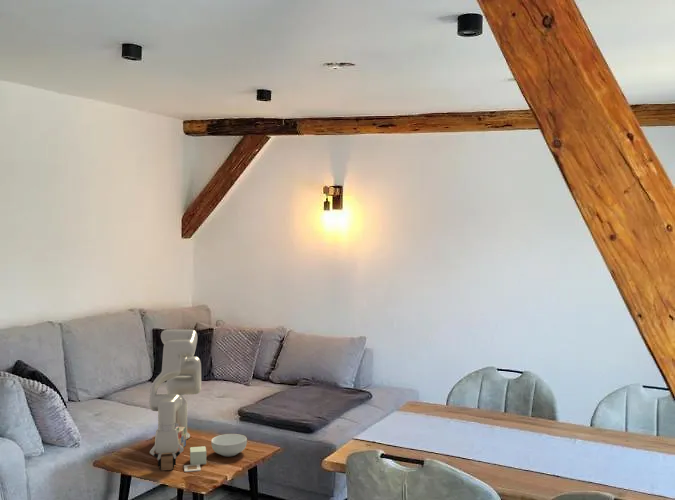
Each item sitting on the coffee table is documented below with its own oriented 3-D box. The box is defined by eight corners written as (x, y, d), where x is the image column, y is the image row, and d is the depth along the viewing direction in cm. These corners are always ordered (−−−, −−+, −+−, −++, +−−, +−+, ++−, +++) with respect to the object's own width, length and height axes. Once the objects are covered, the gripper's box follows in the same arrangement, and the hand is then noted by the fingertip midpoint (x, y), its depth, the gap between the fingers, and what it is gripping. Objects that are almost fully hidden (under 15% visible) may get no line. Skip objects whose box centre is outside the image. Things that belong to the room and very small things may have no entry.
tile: (183, 466, 296) (183, 464, 296) (199, 465, 298) (199, 463, 298) (184, 472, 289) (184, 470, 289) (200, 470, 291) (200, 469, 291)
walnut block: (160, 466, 294) (161, 453, 294) (172, 465, 296) (172, 452, 296) (161, 470, 290) (161, 457, 289) (172, 469, 291) (172, 456, 291)
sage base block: (189, 460, 304) (189, 447, 304) (205, 458, 306) (205, 446, 306) (190, 465, 298) (190, 452, 297) (206, 464, 299) (206, 451, 299)
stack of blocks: (173, 444, 326) (174, 420, 325) (186, 445, 325) (186, 420, 324) (156, 459, 304) (156, 433, 304) (169, 460, 304) (169, 434, 303)
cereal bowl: (222, 446, 324) (222, 431, 324) (252, 450, 319) (252, 435, 319) (204, 457, 308) (204, 442, 308) (236, 461, 303) (236, 446, 303)
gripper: (186, 423, 298) (186, 462, 299) (147, 425, 293) (147, 465, 294) (186, 428, 291) (186, 468, 291) (146, 430, 286) (146, 472, 287)
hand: (166, 466), depth 293 cm, fingers closed on walnut block, 5 cm apart
